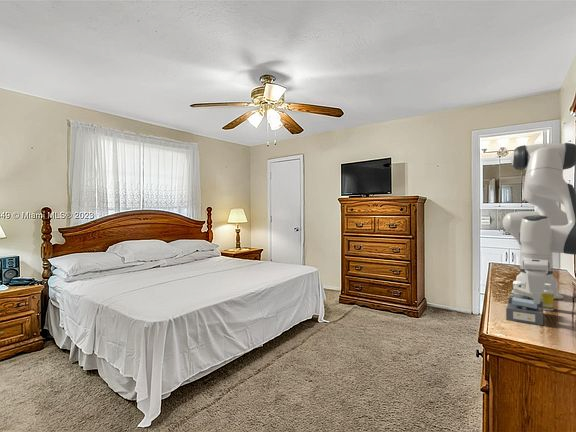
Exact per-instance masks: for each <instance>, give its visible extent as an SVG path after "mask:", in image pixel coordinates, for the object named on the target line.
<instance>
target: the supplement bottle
mask: <svg viewBox="0 0 576 432" xmlns="http://www.w3.org/2000/svg"><path fill="white" fill-rule="evenodd" d="M540 297H543V311H553V310H554V309H555V305H554V303H555V301H554V300H555V299H554V293H553V291H552V290H551V284H546V283H545V287H544V293H543V294H540Z"/></svg>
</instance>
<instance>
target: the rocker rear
mask: <svg viewBox="0 0 576 432" xmlns="http://www.w3.org/2000/svg"><path fill="white" fill-rule="evenodd" d="M514 292H515V293H518V294H521V295H524V296H527V297H530V298H533V293H530V292H529V290H526V289H523V288H520V287H517V286H515V289H514Z"/></svg>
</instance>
